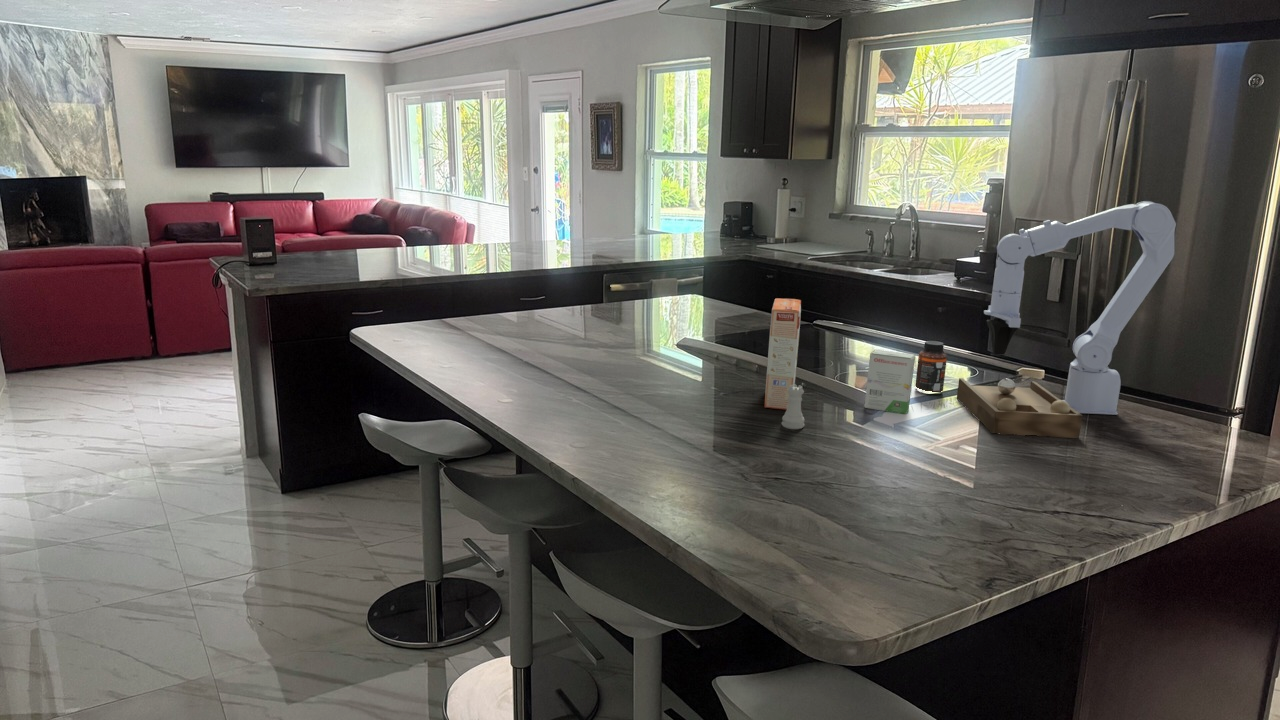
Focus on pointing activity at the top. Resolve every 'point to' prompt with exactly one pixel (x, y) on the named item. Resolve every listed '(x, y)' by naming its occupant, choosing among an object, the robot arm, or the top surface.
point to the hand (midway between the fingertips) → (998, 353)
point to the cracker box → (782, 351)
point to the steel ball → (1006, 386)
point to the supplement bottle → (931, 367)
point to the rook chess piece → (794, 409)
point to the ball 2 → (1060, 407)
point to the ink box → (889, 381)
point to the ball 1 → (1006, 405)
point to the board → (1019, 411)
